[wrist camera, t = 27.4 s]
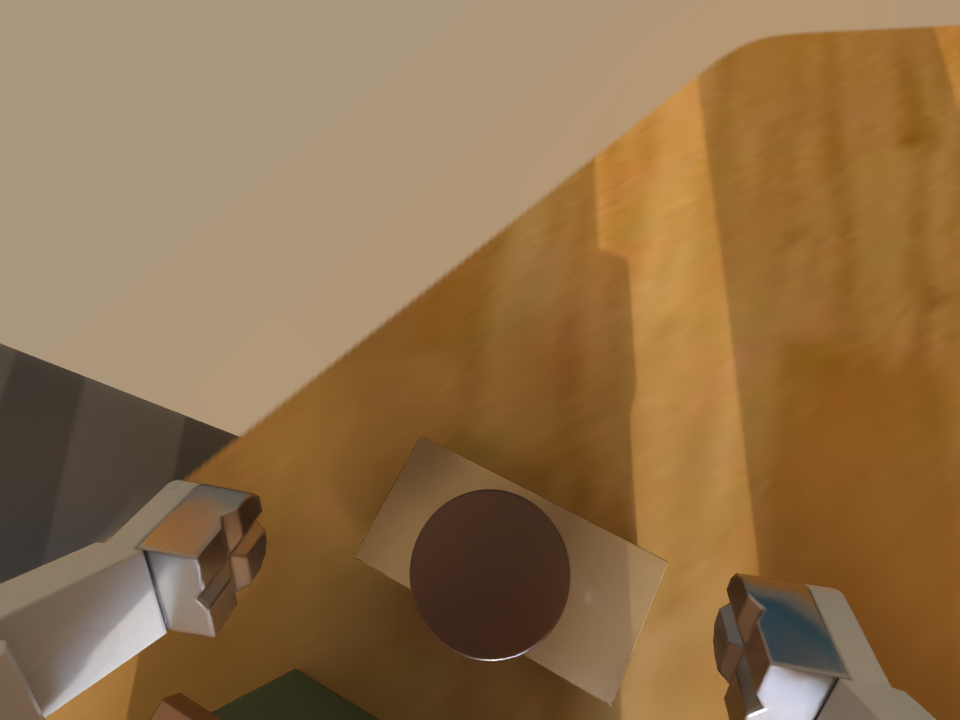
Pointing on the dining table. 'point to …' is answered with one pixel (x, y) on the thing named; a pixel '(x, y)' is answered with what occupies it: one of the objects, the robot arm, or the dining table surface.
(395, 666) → the dining table surface
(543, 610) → the brush
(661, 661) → the dining table surface
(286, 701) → the cabinet
